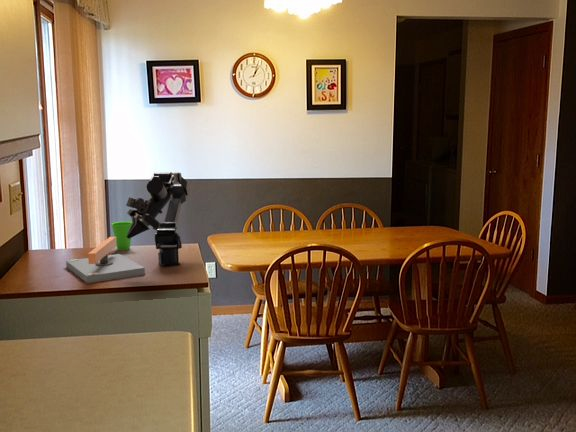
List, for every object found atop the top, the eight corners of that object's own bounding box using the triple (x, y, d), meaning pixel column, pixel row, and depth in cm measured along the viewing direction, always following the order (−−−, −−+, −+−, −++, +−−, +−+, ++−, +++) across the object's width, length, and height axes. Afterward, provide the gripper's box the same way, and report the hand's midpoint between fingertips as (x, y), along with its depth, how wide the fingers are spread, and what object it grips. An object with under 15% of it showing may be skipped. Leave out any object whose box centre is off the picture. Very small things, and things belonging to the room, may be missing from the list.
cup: (139, 248, 260) (137, 222, 258) (122, 252, 252) (121, 225, 251) (124, 246, 265) (122, 221, 263) (107, 249, 257) (106, 224, 255)
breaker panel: (119, 259, 238) (119, 252, 238) (144, 274, 215) (144, 266, 214) (66, 267, 227) (65, 259, 227) (87, 283, 204) (86, 274, 204)
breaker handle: (117, 255, 236) (116, 236, 234) (97, 274, 206) (95, 253, 205) (110, 255, 235) (109, 236, 234) (88, 274, 206) (87, 253, 205)
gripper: (131, 186, 221) (102, 219, 217) (149, 191, 206) (118, 227, 201) (153, 206, 227) (125, 239, 222) (172, 212, 211) (143, 247, 207)
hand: (127, 237), depth 213 cm, fingers closed
